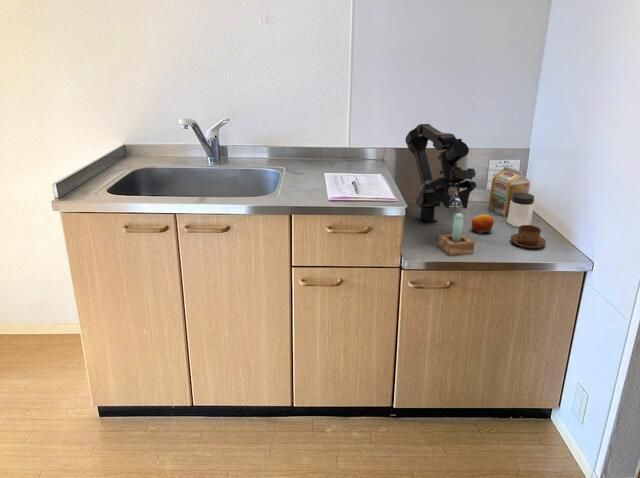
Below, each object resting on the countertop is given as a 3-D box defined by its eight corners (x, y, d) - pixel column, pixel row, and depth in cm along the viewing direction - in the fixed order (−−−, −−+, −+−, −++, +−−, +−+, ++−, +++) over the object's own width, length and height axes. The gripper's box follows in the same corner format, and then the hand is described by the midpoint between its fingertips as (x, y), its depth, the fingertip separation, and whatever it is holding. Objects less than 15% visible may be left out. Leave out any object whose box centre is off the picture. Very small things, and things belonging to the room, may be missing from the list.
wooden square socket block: (437, 245, 179) (438, 235, 178) (459, 243, 181) (461, 233, 180) (450, 255, 171) (451, 245, 170) (473, 252, 173) (474, 242, 172)
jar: (523, 229, 194) (528, 200, 190) (503, 223, 200) (508, 195, 195) (533, 223, 200) (538, 195, 195) (514, 218, 206) (518, 190, 201)
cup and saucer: (541, 253, 173) (544, 237, 171) (506, 246, 179) (508, 230, 177) (547, 242, 183) (550, 226, 180) (514, 235, 189) (516, 220, 186)
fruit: (481, 234, 186) (477, 213, 187) (470, 237, 193) (466, 217, 194) (500, 232, 188) (496, 211, 189) (488, 235, 195) (484, 215, 196)
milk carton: (524, 214, 211) (532, 170, 203) (504, 217, 207) (511, 173, 200) (507, 206, 220) (514, 164, 212) (488, 209, 216) (494, 167, 209)
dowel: (449, 247, 178) (453, 211, 172) (458, 247, 178) (463, 211, 172) (451, 251, 175) (455, 214, 170) (460, 251, 175) (465, 215, 169)
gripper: (447, 156, 169) (455, 200, 166) (484, 161, 179) (491, 202, 176) (425, 167, 178) (432, 209, 175) (460, 171, 188) (467, 211, 185)
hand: (456, 207), depth 178 cm, fingers open, 9 cm apart
